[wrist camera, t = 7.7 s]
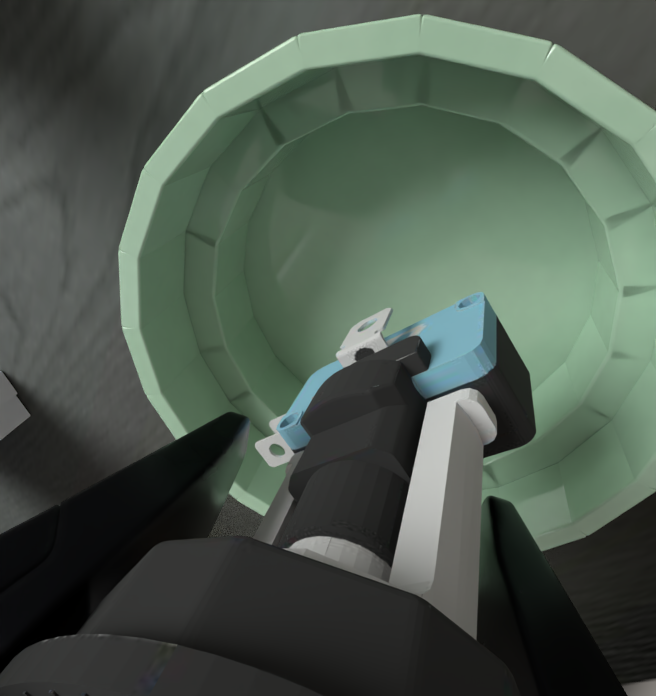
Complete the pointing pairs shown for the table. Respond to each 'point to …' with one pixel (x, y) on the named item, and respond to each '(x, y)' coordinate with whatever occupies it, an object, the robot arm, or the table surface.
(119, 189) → the table surface
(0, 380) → the walkman
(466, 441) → the push button
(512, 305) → the bowl
